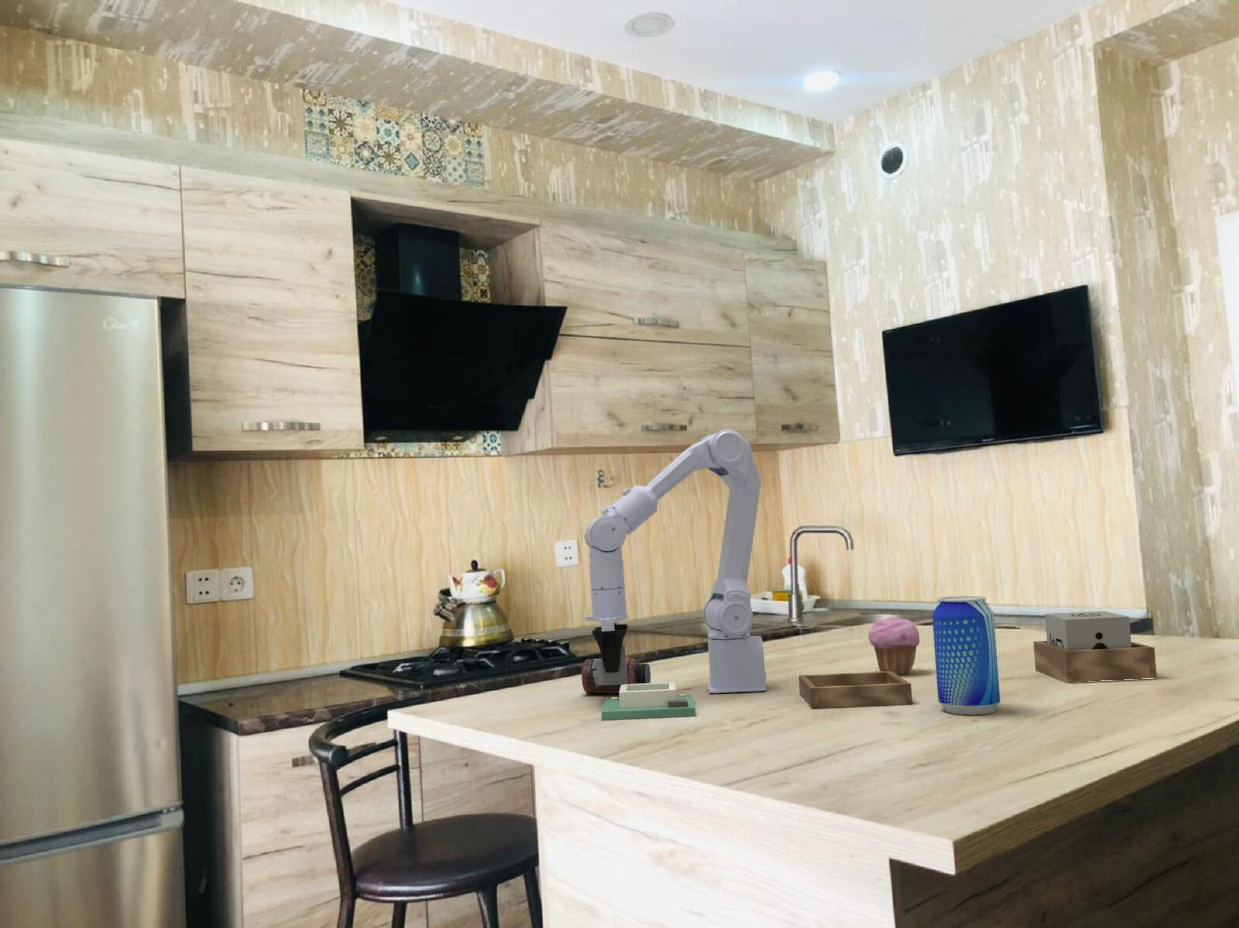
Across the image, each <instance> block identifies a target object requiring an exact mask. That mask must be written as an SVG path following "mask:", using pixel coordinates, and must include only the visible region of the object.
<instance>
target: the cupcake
mask: <svg viewBox="0 0 1239 928" xmlns="http://www.w3.org/2000/svg"><path fill="white" fill-rule="evenodd" d="M868 640H869V644H870V645H871V646H872V647H874V652H875V656H876V662H877V665H878V669H879V672H883V671H892V672H893V673H895V674H897V675H898V676H902V675H906V674H909V673H910V672H911V671H912V669H913V666H914V664H915V660H916V653H917V647H918V646H919V645H920V634H919V630H918V628H917V626H916V624H914V622H912V621H911V620H909V619H905V618H898V617H894V616H890V617H889V616H888V617H886V618H884V619H877V620H876V621H875V622H874V624H873V625H872V627H871V628H870V630H869V631H868ZM901 674H902V675H901Z"/></svg>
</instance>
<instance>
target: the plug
mask: <svg viewBox="0 0 1239 928" xmlns="http://www.w3.org/2000/svg"><path fill="white" fill-rule="evenodd" d="M626 645H627V644H626V643H623V644H622V647H621V656H620V666H619V671H618V672H615V673H606V671H605V669H604V665H603V661H602V656H601V655H600V658H596V659H597V660H596V667H597V680H598V685H603V686H605V685H620V684H628V668H627V646H626Z"/></svg>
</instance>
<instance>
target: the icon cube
mask: <svg viewBox="0 0 1239 928" xmlns="http://www.w3.org/2000/svg"><path fill="white" fill-rule="evenodd" d="M1044 619H1045V620H1044V621H1045V623H1044V625H1045V633H1046V634H1045V635H1046V641H1047V644H1050V645H1053V646H1056V647H1059V648H1062V649H1066V650H1069V651H1073V650H1094V649H1115V648H1132V646H1131V642H1132V637H1131V636H1132V634H1131V623H1130V616H1128V615H1123V614H1119V613H1115V612H1110V611H1106V610H1105V611H1104V610H1102V611H1081V612H1059V613H1058V612H1057V613H1045V614H1044Z"/></svg>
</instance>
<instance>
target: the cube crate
mask: <svg viewBox="0 0 1239 928" xmlns="http://www.w3.org/2000/svg"><path fill="white" fill-rule="evenodd" d="M1131 646H1132V648H1115V649H1094V650H1073V651H1069V650H1066V649H1062V648H1059V647H1056V646H1053V645H1050V644H1047V640H1039V641H1038V640H1037V641H1036V640H1035V641H1033V655H1034V663H1035V664H1034V665H1035V668H1034V669H1035V672H1038V673H1041V674H1043V673H1044V674H1043V675H1046V676H1049V677H1051V678H1053V677H1054V678H1053V679H1056V680H1059V681H1061V680H1062V681H1061V682H1063V683H1067V684H1076V683H1075V682H1084V683H1089V682H1088V681H1101V680H1124V679H1142V678H1157V679H1158V675H1157V674H1158V673H1157V664H1156V663H1157V662H1156V650H1155V647H1153V646H1149V645H1147V644H1146V645H1145V644H1143V643H1139V642H1134V641H1131Z"/></svg>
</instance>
